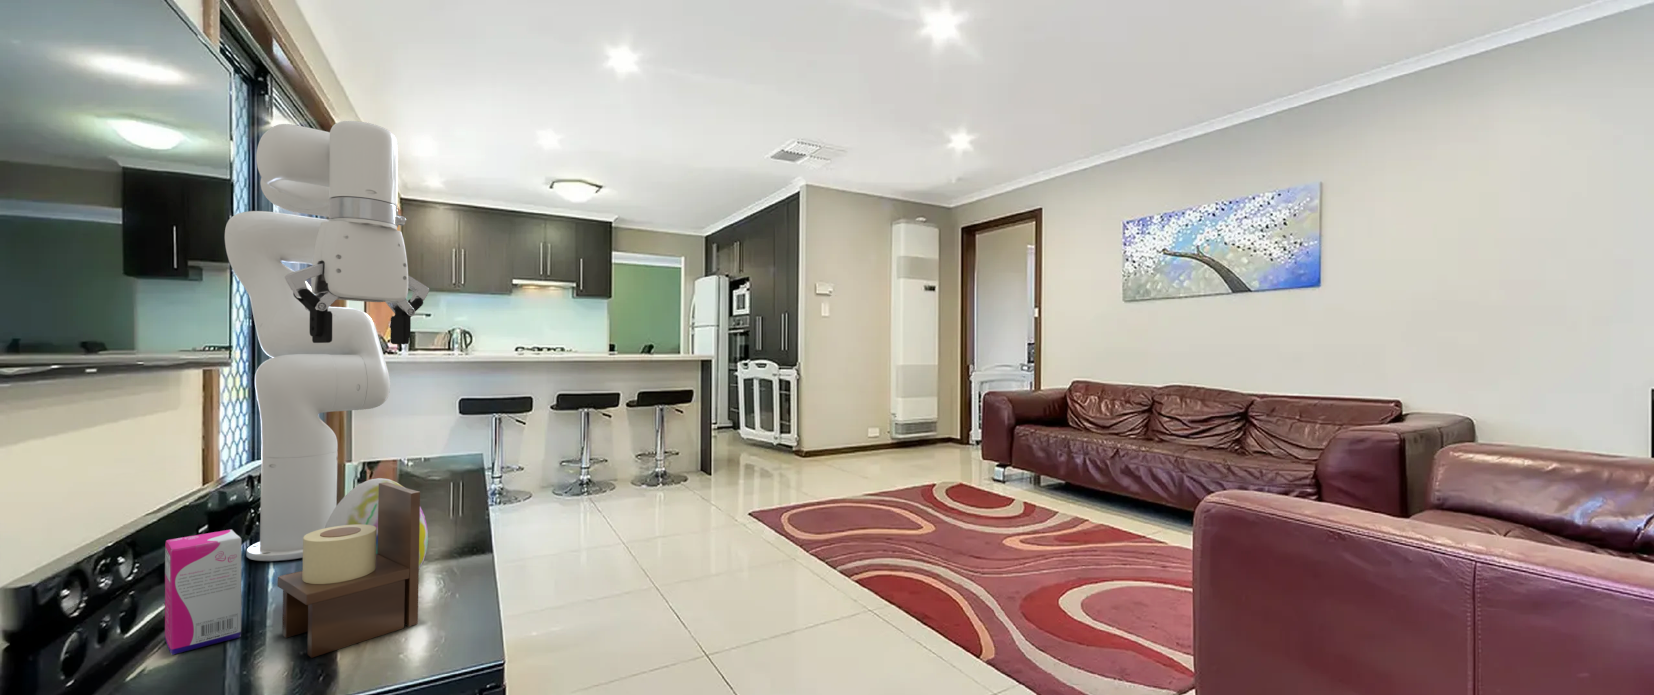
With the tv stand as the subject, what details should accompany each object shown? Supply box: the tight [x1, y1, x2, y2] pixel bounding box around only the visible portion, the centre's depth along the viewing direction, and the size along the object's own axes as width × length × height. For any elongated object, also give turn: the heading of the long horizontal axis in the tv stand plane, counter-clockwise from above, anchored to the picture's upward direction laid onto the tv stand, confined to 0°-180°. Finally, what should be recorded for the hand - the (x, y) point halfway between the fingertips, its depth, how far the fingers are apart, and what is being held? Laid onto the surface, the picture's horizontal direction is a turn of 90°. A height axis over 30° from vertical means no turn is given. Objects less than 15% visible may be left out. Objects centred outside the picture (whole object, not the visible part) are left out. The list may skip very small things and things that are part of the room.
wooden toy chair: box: [277, 482, 421, 659], centre depth 75 cm, size 9×11×16 cm
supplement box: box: [164, 529, 242, 656], centre depth 72 cm, size 6×6×12 cm
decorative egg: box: [325, 477, 429, 570], centre depth 88 cm, size 12×12×15 cm
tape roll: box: [302, 524, 377, 584], centre depth 74 cm, size 7×7×5 cm
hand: (362, 343), depth 86 cm, fingers open, 9 cm apart
